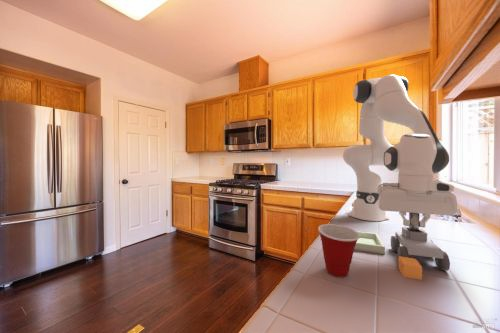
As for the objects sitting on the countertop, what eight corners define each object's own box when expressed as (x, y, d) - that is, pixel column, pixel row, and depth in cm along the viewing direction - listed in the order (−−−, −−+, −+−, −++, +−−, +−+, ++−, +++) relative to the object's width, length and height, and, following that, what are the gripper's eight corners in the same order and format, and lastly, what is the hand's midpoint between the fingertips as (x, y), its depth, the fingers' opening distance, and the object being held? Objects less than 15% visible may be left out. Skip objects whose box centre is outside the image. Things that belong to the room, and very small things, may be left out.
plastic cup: (346, 288, 51) (346, 240, 51) (309, 269, 60) (310, 228, 59) (367, 274, 57) (367, 231, 57) (331, 258, 66) (331, 221, 66)
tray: (348, 236, 85) (348, 230, 85) (377, 239, 81) (377, 233, 81) (350, 249, 73) (350, 242, 73) (384, 254, 69) (384, 246, 69)
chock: (421, 280, 55) (422, 267, 54) (403, 277, 56) (403, 264, 56) (415, 270, 59) (415, 258, 59) (398, 268, 61) (398, 256, 61)
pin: (407, 235, 69) (408, 211, 69) (417, 236, 68) (417, 212, 68) (410, 237, 67) (410, 213, 67) (420, 239, 66) (420, 214, 66)
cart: (390, 247, 74) (390, 224, 74) (428, 252, 70) (429, 227, 70) (402, 266, 61) (402, 238, 61) (449, 274, 57) (450, 243, 57)
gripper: (379, 183, 68) (378, 225, 69) (461, 186, 60) (459, 233, 61) (375, 181, 74) (375, 220, 74) (450, 183, 66) (448, 226, 67)
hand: (413, 226), depth 68 cm, fingers closed on pin, 3 cm apart
